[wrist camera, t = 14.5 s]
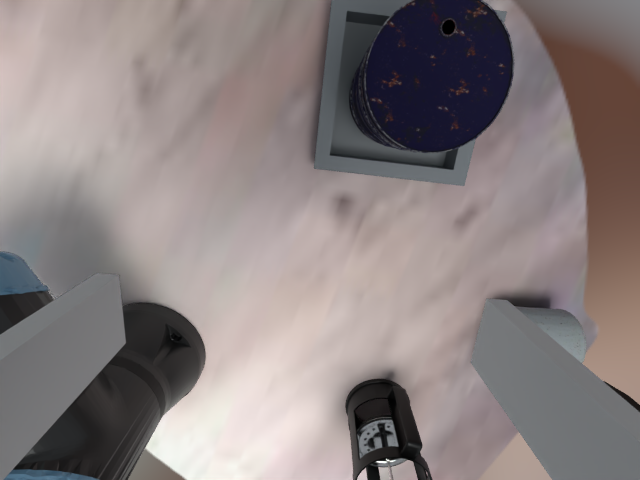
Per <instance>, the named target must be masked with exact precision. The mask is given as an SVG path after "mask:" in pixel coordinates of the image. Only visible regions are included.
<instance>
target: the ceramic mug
mask: <svg viewBox="0 0 640 480" xmlns="http://www.w3.org/2000/svg"><path fill="white" fill-rule="evenodd" d="M515 307H516V308H517V309H518V310H519V311H521V312H522V313H523V314H524V315H525V316H526V317H528V318H529V319H530V320H531V321H532V322H534V323H535V324H536V325H537V326H538V327H539V328H541V329H542V330H543V331H544V332H545V333H547V334H548V335H549V336H550V337H551V338H552V339H554V340H555V341H556V342H557V343H558V344H560V345H561V346H562V347H563V348H564V349H565V350H567V351H568V352H569V353H570V354H571V355H573V356H574V357H575V358H576V359H577V360H578V361H580V362H581V363H582V362H583V361H584V358H585V354H586V338H585V335H584V332H583V329H582V326H581V325H580V323H579V321H578V320H577V319H576V318H575V316H573V315H572V314H571V313H569V312H567V311H565V310H562V309H547V308H529V307H518V306H515Z"/></svg>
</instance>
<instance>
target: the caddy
mask: <svg viewBox="0 0 640 480" xmlns="http://www.w3.org/2000/svg"><path fill="white" fill-rule="evenodd" d="M409 1H411V0H332V1H331V11H330V20H329V30H328V39H327V49H326V58H325V68H324V77H323V87H322V96H321V106H320V115H319V125H318V134H317V144H316V153H315V163H314V169H322V170H331V171H339V172H348V173H357V174H365V175H374V176H382V177H391V178H400V179H408V180H417V181H426V182H434V183H443V184H452V185H460V186H464V185H465V181H466V177H467V172H468V168H469V164H470V160H471V156H472V152H473V148H474V144H475V140H476V139H474V140H472V141H471V142H469V143H468V144H466V145H464V146H462V147H459V148H457V149H454V150H451V151H447V152H442V153H416V152H409V151H404V150H399V149H396V148H391V147H386V146H384V145H381V144H379V143H376V142H375V141H373V140H371V139H370V138H368V137H367V136H365V135H364V134H363V133H362V132H361V131H360V130H359V128H358V127H357V125H356V124H355V122H354V120H353V118H352V115H351V111H350V106H349V92H350V87H351V83H352V80H353V77H354V74H355V72H356V70H357V68H358V66H359V64H360V63H361V61H362V59H363V57H364V55H365V53H366V51H367V49H368V47H369V45H370V44H371V42H372V40H373V39H374V37H375V36H376V34H377V33H378V32H379V30H380V29H381V27H382V26H383V25H384V23H385V22H386V21H387V19H388V18H389V17H390V16H391V15H392V14H393V13H394V12H395V11H396V10H398V9H399V8H400V7H402V6H403V5H404V4H406V3H407V2H409ZM494 11H495V12H496V13H497V14H498V15H499V17H500V18H501V20H502V21H503V23H504V21H505V17H506V13H507V12H506V11H498V10H494Z"/></svg>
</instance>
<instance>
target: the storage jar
mask: <svg viewBox="0 0 640 480" xmlns="http://www.w3.org/2000/svg"><path fill="white" fill-rule="evenodd" d="M513 74H514V53H513V46H512V42H511V39H510V35H509V33H508V31H507V28H506V26H505V24H504V23H503V21H502V20H501V18H500V17H499V15H498V14H497V13H496V12H495V11H494V10H493V9H492V8H491V7H490V6H489V5H488V4H487V3H485V2H484V1H482V0H411V1H409V2H407V3H406V4H404V5H403V6H402V7H400V8H399V9H398V10H396V11H395V12H394V13H393V14H392V15H391V16H390V17H389V18H388V19H387V21H386V22H385V23H384V25H383V26H382V27H381V29H380V30H379V32H378V33H377V34H376V36H375V37H374V39H373V40H372V42H371V44H370V45H369V47H368V49H367V51H366V53H365V55H364V57H363V59H362V61H361V63H360V64H359V66H358V68H357V70H356V72H355V74H354V77H353V80H352V83H351V87H350V92H349V106H350V111H351V115H352V118H353V120H354V122H355V124H356V125H357V127H358V128H359V130H360V131H361V132H362V133H363V134H364V135H365V136H367V137H368V138H370V139H371V140H373V141H375V142H376V143H379V144H381V145H384V146H386V147H391V148H396V149H399V150H404V151H409V152H416V153H442V152H447V151H451V150H454V149H457V148H459V147H462V146H464V145H466V144H468V143H469V142H471V141H472V140H474V139H476V138H477V137H478V136H479V135H481V134H482V133H483V132H484V131H485V130H486V129H487V128H488V127H489V126H490V125H491V124H492V122H493V121H494V120H495V119H496V117H497V116H498V114H499V113H500V111H501V110H502V108H503V106H504V104H505V102H506V100H507V97H508V94H509V91H510V88H511V85H512V79H513Z"/></svg>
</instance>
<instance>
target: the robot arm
mask: <svg viewBox="0 0 640 480" xmlns="http://www.w3.org/2000/svg"><path fill="white" fill-rule="evenodd" d="M48 291H49V289H48V287H47V286H45V285H43V284H42V283H41V282H40V280H39V279H38V278H37V277H36V275H35V274H34V273H33V271H32V270H31V269H30V268H29V266H28V265H27V264H26V262H25V261H24V260H23V259H22V258H20V257H19V256H17V255H15V254H12V253H9V252H2V251H0V480H128V478H129V476H130V474H131V473H132V471H133V469H134V467H135V465H136V464H137V462H138V460H139V458H140V456H141V454H142V452H143V451H144V449H145V447H146V445H147V444H148V442H149V440H150V438H151V436H152V434H153V433H154V431H155V429H156V427H157V425H158V423H159V422H160V420H161V418H162V416H163V415H164V414H165V413H166V412H168V411H169V410H170V409H171V408H172V407H173V406H174V405H175V404H177V403H178V402H179V401H180V400H181V399H182V398H183V397H184V396H186V395H187V394H188V393H189V392H190V391H191V390H192V389H193V387H194V386H195V384H196V383H197V381H198V379H199V377H200V375H201V373H202V371H203V368H204V364H205V349H204V345H203V342H202V340H201V337H200V336H199V334H198V332H197V331H196V329H195V328H194V327H193V326H192V325H191V324H190V323H189V322H188V321H187V320H186V319H185V318H184V317H182V316H181V315H179V314H178V313H176V312H174V311H172V310H170V309H168V308H165V307H163V306H159V305H155V304H148V303H136V304H130V305H126V306H123V307H122V298H121V288H120V278H119V274H103V273H96V274H94V275H93V276H91V277H90V278H88V279H86V280H85V281H83V282H82V283H80V284H79V285H77V286H75V287H74V288H72V289H71V290H69V291H68V292H66V293H65V294H63V295H61V296H60V297H58V298H57V299H55V300H53V299H52V297H51V295H50V294H49V292H48ZM471 364H472V365H473V367H474V368H475V370H476V371H477V372H478V374H479V375H480V377H481V378H482V380H483V381H484V383H485V384H486V385H487V387H488V388H489V390H490V391H491V393H492V394H493V395H494V397H495V398H496V400H497V401H498V403H499V404H500V405H501V407H502V408H503V410H504V411H505V413H506V414H507V415H508V417H509V418H510V420H511V421H512V423H513V424H514V426H515V427H516V428H517V430H518V431H519V433H520V434H521V435H522V437H523V438H524V440H525V441H526V443H527V444H528V446H529V447H530V448H531V450H532V451H533V453H534V454H535V456H536V457H537V459H538V460H539V461H540V463H541V464H542V466H543V467H544V469H545V470H546V471H547V473H548V474H549V476H550V477H551V478H552V480H640V405H639V404H638V403H637V402H635V401H634V400H633V399H632V398H631V397H629V396H628V395H626V394H625V393H623V392H621V391H620V390H618V389H616V388H615V387H613V386H611V385H610V384H608V383H606V382H604V381H602V380H601V379H600V378H598V377H597V376H596V375H595V374H594V373H593V372H591V371H590V370H589V369H588V368H587V367H586V366H584V365H583V364H582V363H581V362H580V361H578V360H577V359H576V358H575V357H574V356H573V355H571V354H570V353H569V352H568V351H567V350H565V349H564V348H563V347H562V346H561V345H560V344H558V343H557V342H556V341H555V340H554V339H552V338H551V337H550V336H549V335H548V334H547V333H545V332H544V331H543V330H542V329H541V328H539V327H538V326H537V325H536V324H535V323H534V322H532V321H531V320H530V319H529V318H528V317H526V316H525V315H524V314H523V313H522V312H521V311H519V310H518V309H517V308H516V307H515V306H513V305H512V304H511V303H510V302H509V301H508V300H499V299H486V303H485V307H484V311H483V315H482V319H481V323H480V327H479V331H478V335H477V339H476V343H475V347H474V351H473V355H472V359H471Z"/></svg>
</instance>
